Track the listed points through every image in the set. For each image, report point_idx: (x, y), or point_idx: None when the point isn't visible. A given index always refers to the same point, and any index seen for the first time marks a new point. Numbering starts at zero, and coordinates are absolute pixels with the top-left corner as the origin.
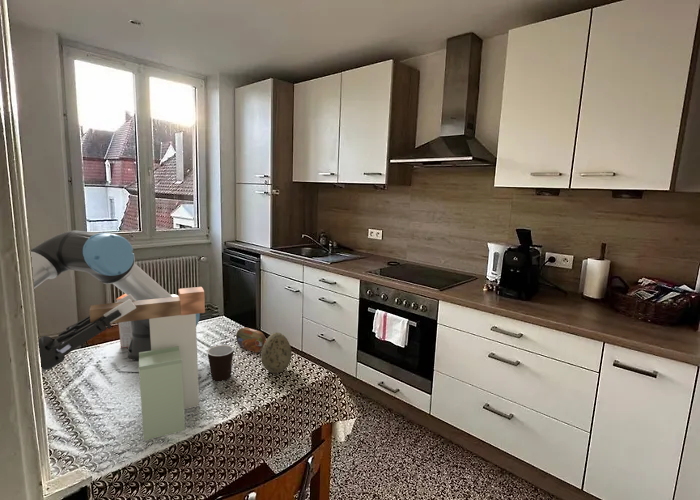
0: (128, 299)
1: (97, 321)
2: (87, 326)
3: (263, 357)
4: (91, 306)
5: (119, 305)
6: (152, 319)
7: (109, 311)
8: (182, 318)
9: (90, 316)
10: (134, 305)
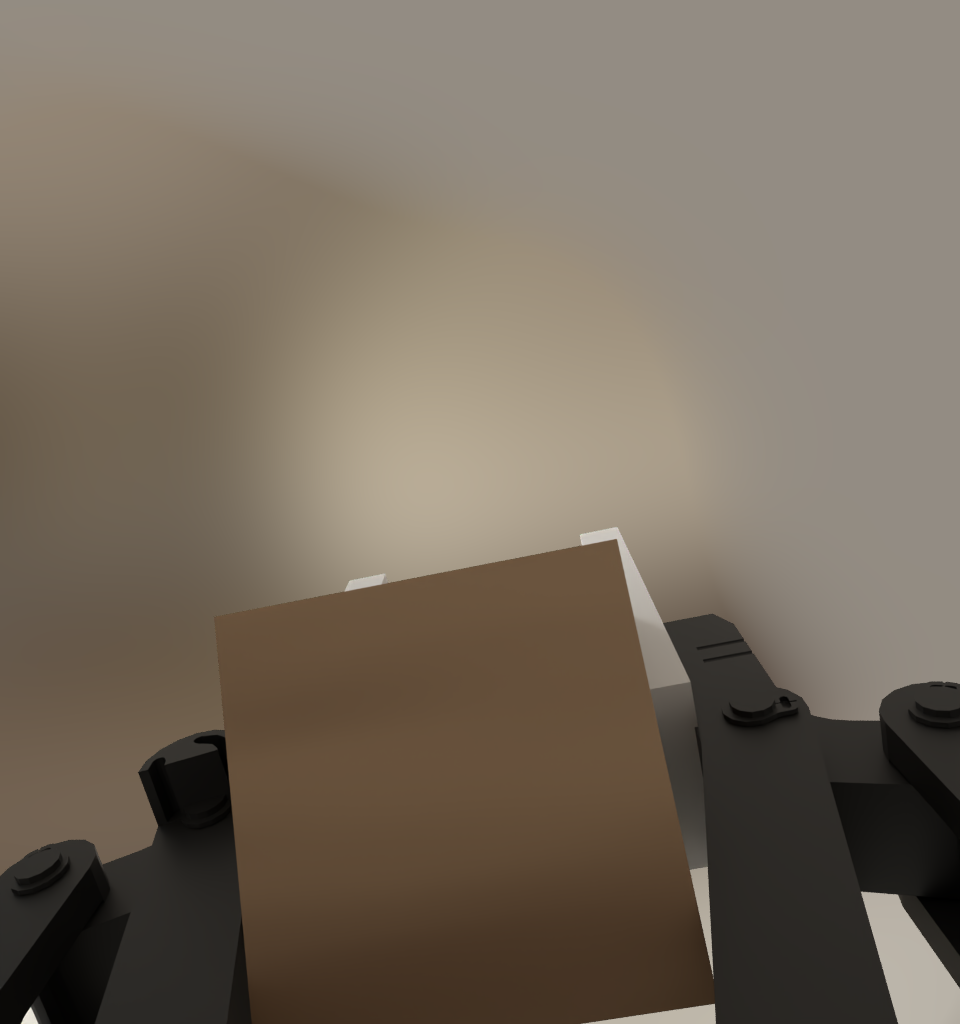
0: (583, 538)
1: (943, 692)
2: (871, 942)
3: None
4: (325, 598)
5: (628, 573)
6: None
7: (656, 636)
8: None
9: (648, 710)
10: None
